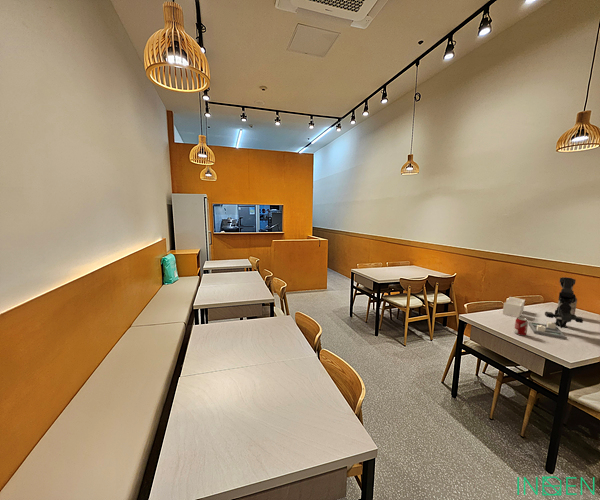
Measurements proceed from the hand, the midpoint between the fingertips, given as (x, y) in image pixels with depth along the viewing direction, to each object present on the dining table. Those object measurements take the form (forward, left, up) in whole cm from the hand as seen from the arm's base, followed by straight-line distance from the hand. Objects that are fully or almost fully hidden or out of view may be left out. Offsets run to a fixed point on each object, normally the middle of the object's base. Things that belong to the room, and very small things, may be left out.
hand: (561, 327), depth 182 cm
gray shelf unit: (+6, -10, -3) cm, 12 cm away
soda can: (+23, -27, -3) cm, 35 cm away
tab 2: (0, -6, -2) cm, 6 cm away
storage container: (-28, -24, -4) cm, 37 cm away
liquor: (-45, +13, -3) cm, 47 cm away
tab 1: (+12, -13, -2) cm, 18 cm away
